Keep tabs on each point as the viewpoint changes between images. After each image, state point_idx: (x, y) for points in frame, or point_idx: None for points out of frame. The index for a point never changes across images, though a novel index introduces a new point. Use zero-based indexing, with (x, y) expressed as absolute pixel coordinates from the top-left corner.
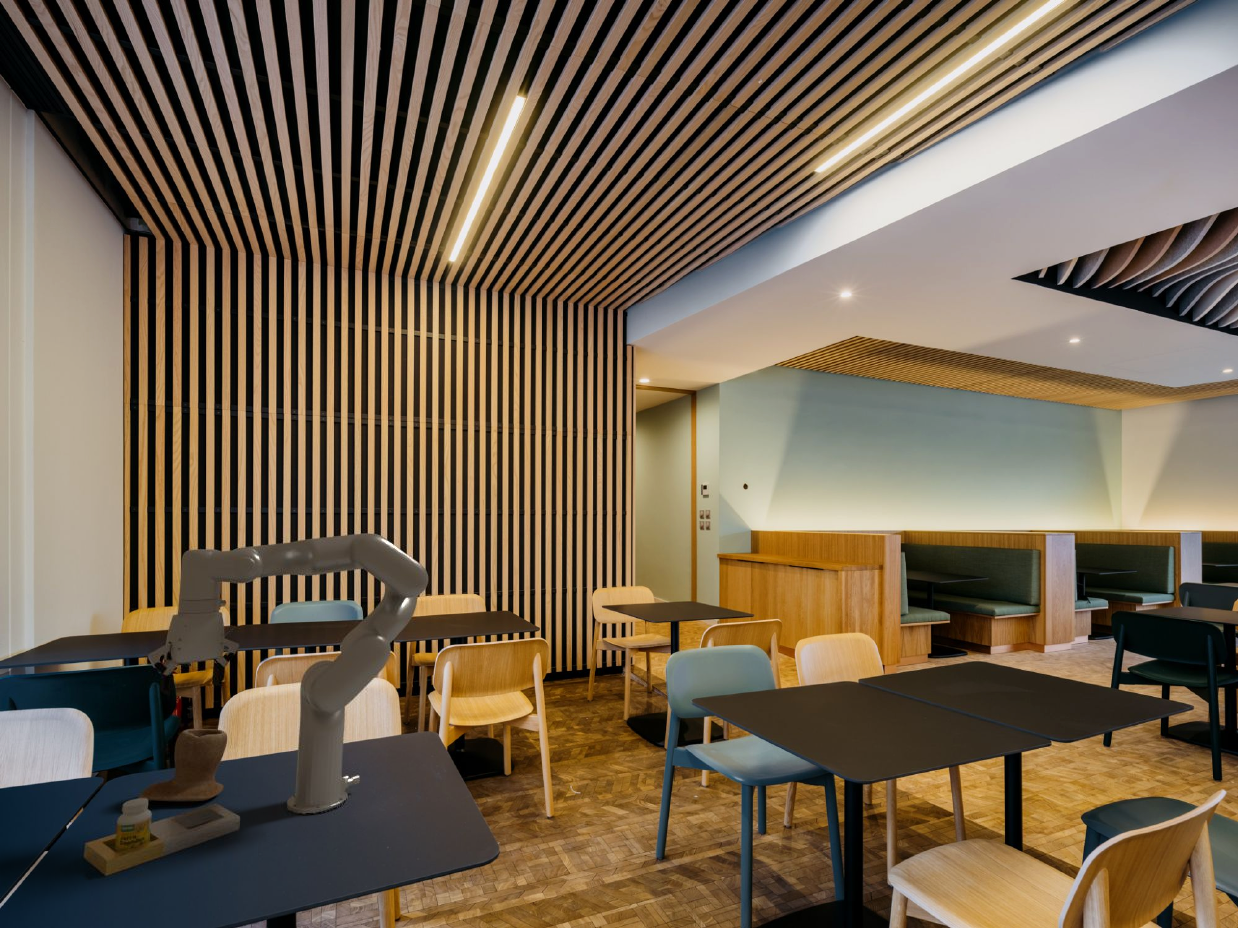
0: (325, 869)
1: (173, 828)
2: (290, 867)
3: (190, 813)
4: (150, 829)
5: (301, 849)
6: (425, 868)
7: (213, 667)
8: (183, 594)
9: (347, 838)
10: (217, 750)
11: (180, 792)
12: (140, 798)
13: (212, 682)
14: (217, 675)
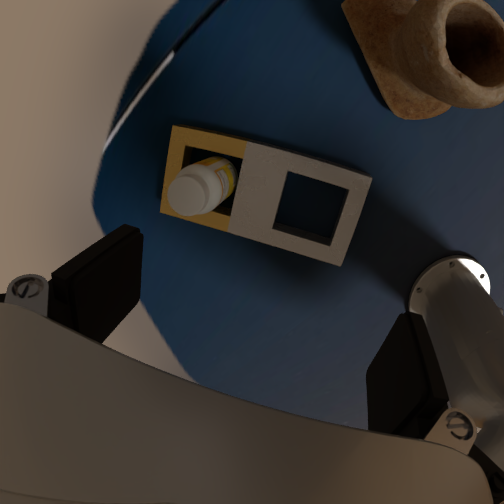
0: (286, 402)
1: (264, 202)
2: (276, 377)
3: (320, 174)
4: (224, 199)
5: (315, 365)
6: None
7: (418, 392)
8: None
9: (354, 388)
10: (461, 107)
11: (384, 67)
12: (199, 186)
13: (401, 318)
14: (378, 400)
